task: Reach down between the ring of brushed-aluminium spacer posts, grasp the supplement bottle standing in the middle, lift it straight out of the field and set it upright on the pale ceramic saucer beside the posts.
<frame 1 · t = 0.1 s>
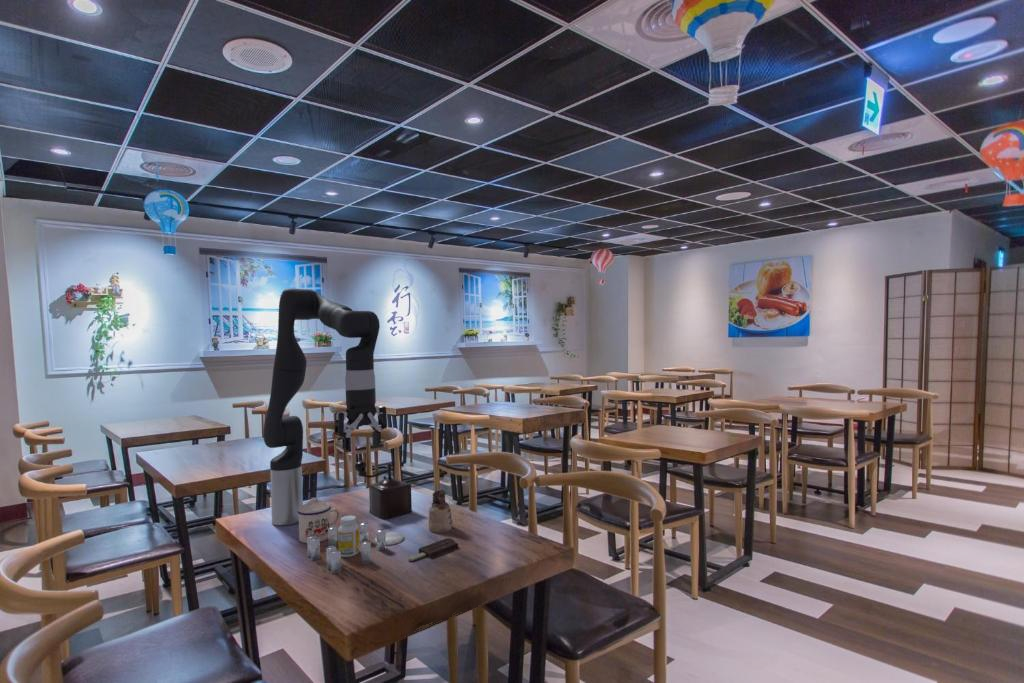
hand: (362, 448, 139), 29 cm above the table, fingers open, 8 cm apart
supplement bottle: (349, 554, 142), on the table
saucer: (389, 539, 151), on the table
teacup with lid: (320, 537, 155), on the table
coffee grinder: (383, 514, 173), on the table
figurine: (440, 529, 159), on the table
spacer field: (349, 553, 142), on the table
ice cream bar: (432, 554, 142), on the table
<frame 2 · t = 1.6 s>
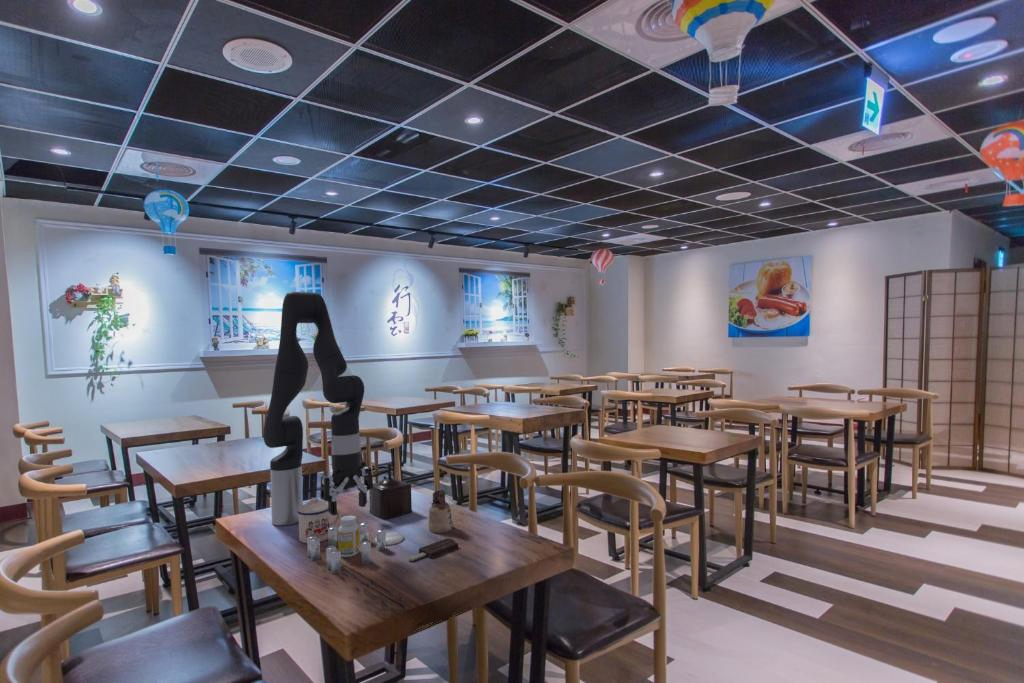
hand: (348, 510, 142), 12 cm above the table, fingers open, 8 cm apart
nothing on the table moved.
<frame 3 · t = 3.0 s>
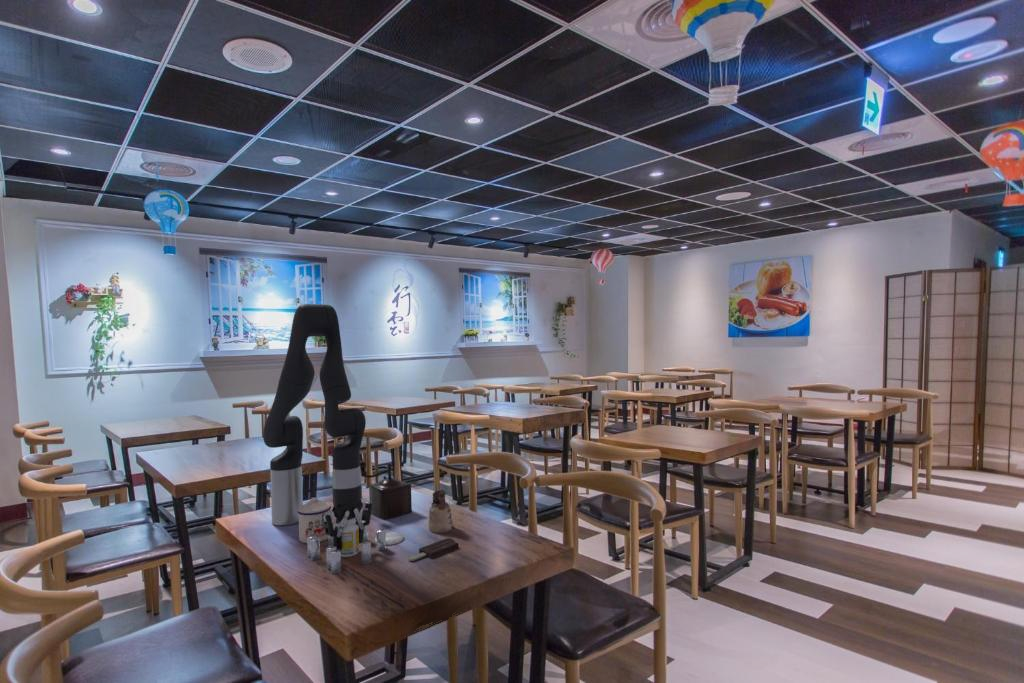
hand: (348, 545, 142), 2 cm above the table, fingers closed on supplement bottle, 5 cm apart
supplement bottle: (349, 554, 142), on the table, touching gripper
everything else where it was.
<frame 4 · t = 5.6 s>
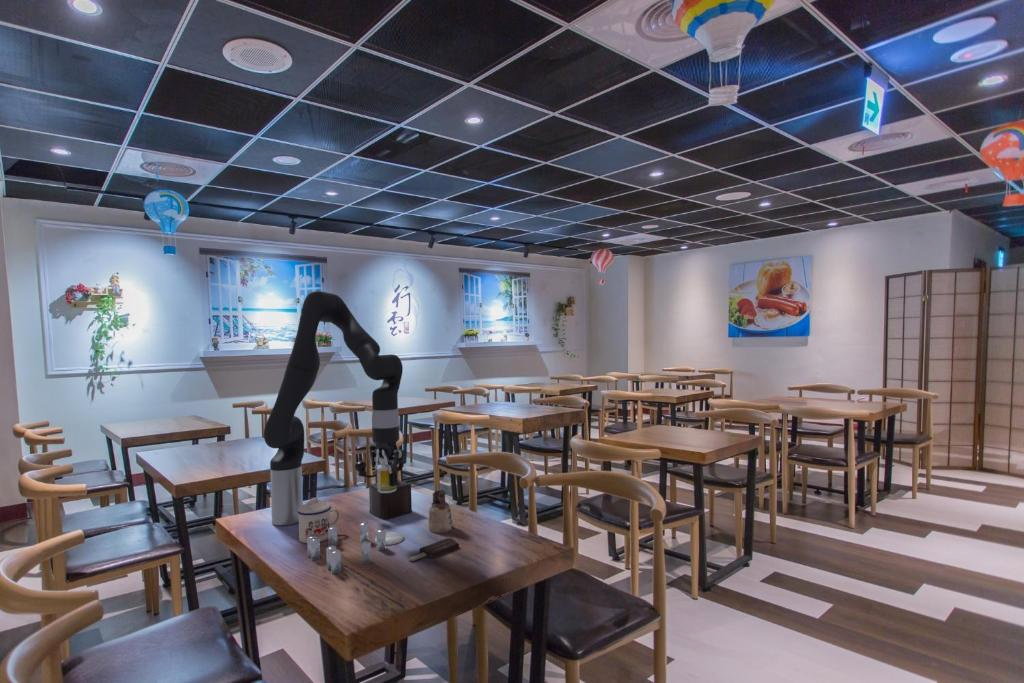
hand: (387, 483, 151), 16 cm above the table, fingers closed on supplement bottle, 5 cm apart
supplement bottle: (387, 491, 151), point 14 cm above the table, touching gripper
everything else where it was.
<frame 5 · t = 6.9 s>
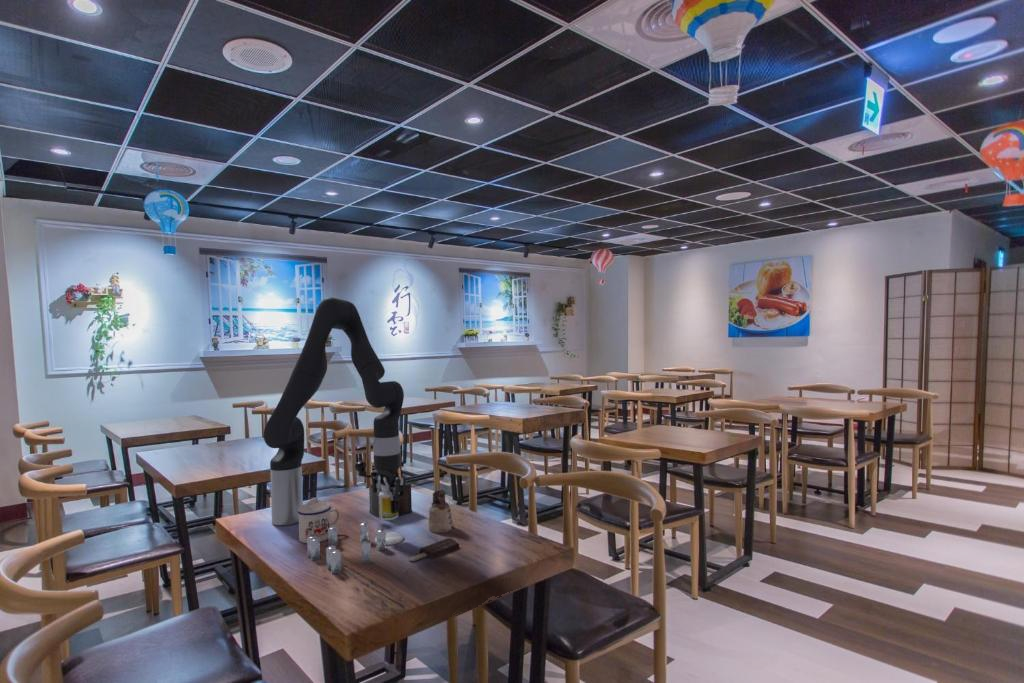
hand: (388, 510, 151), 8 cm above the table, fingers closed on supplement bottle, 5 cm apart
supplement bottle: (389, 518, 151), point 6 cm above the table, touching gripper
everything else where it was.
when the fingers open (4 cm above the table, at t = 8.2 s): supplement bottle drops 2 cm, resting on saucer.
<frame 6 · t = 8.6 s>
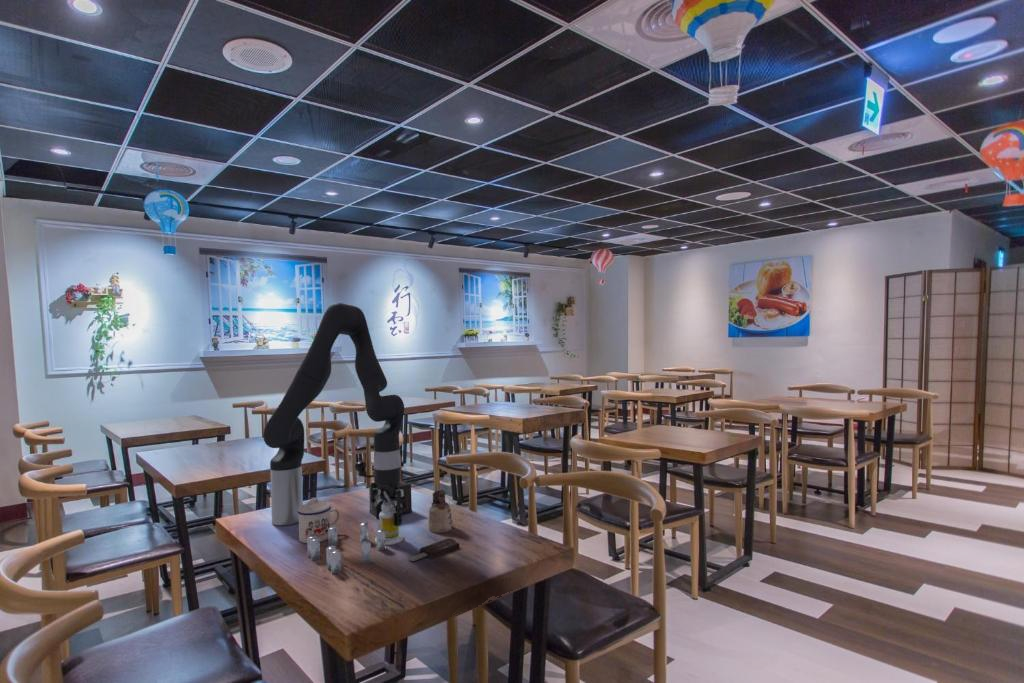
hand: (388, 521, 151), 5 cm above the table, fingers open, 8 cm apart
supplement bottle: (389, 538, 151), resting on saucer
everything else where it was.
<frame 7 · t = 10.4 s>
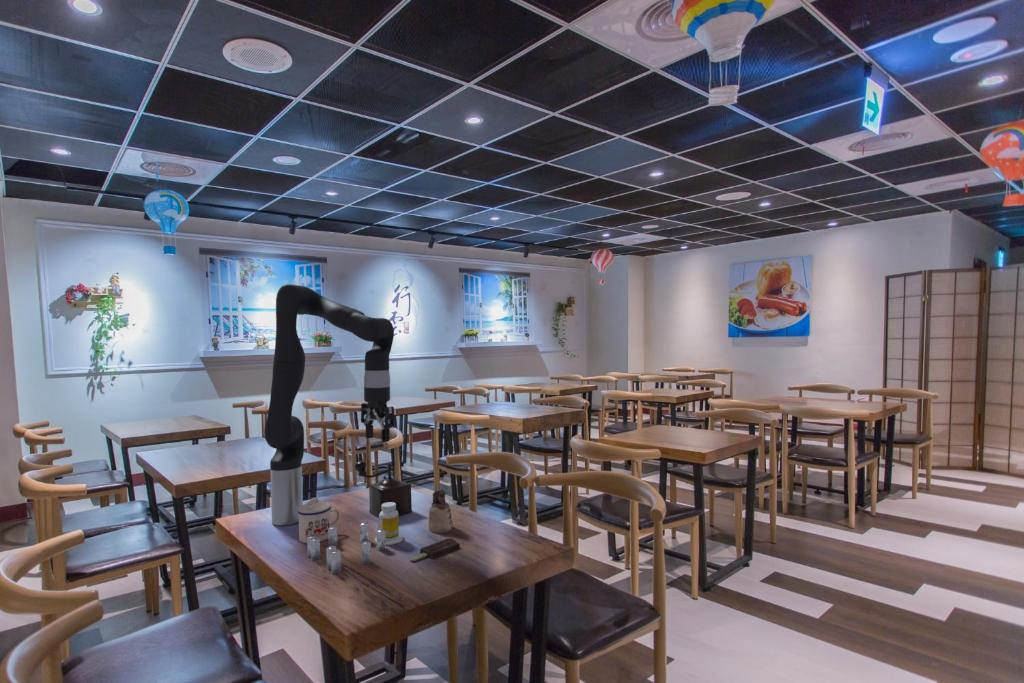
hand: (377, 439, 157), 28 cm above the table, fingers open, 8 cm apart
nothing on the table moved.
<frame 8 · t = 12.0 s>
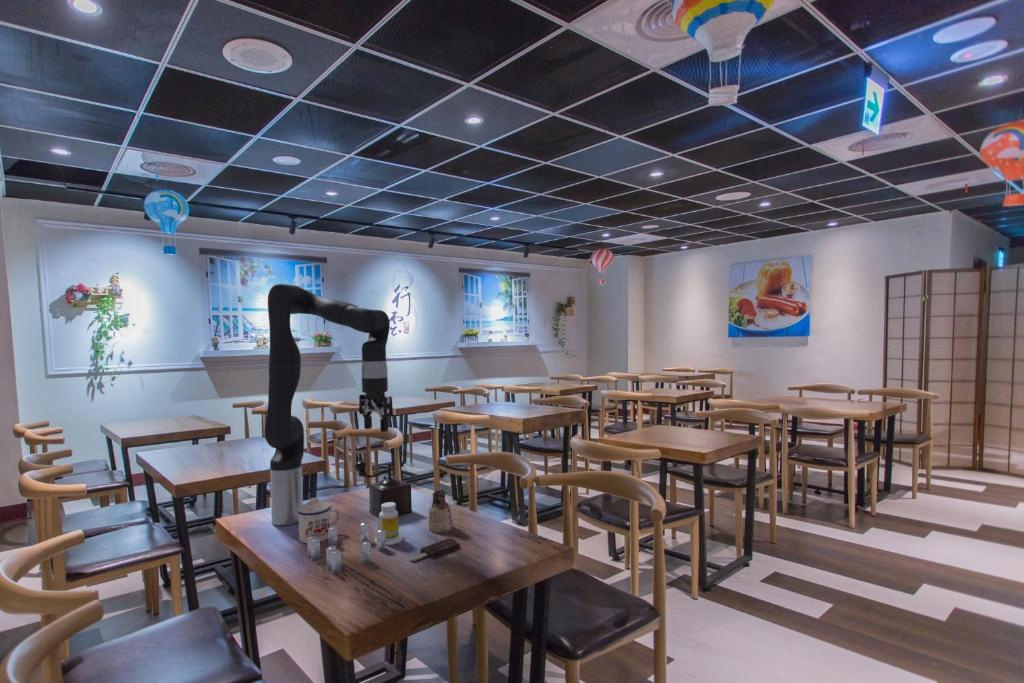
hand: (376, 430, 159), 30 cm above the table, fingers open, 8 cm apart
nothing on the table moved.
at the end: supplement bottle 0.1 cm from the saucer (horizontally); supplement bottle resting on saucer; supplement bottle tilted 0° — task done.
